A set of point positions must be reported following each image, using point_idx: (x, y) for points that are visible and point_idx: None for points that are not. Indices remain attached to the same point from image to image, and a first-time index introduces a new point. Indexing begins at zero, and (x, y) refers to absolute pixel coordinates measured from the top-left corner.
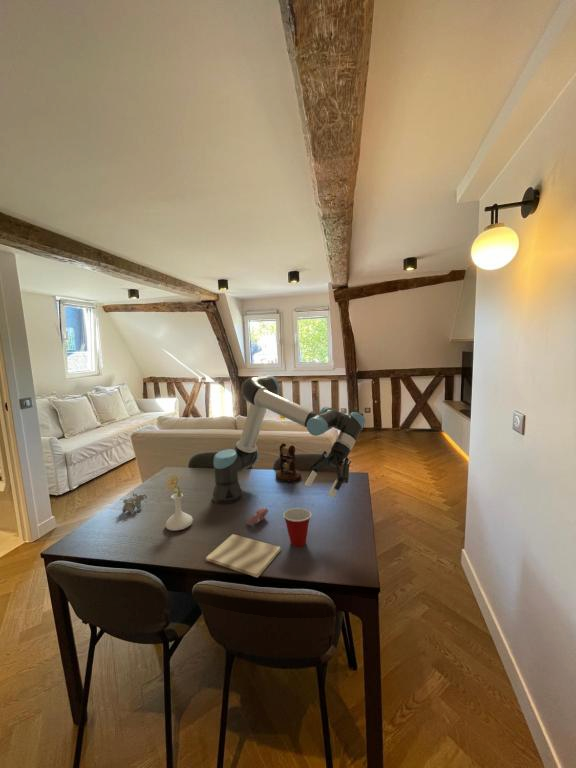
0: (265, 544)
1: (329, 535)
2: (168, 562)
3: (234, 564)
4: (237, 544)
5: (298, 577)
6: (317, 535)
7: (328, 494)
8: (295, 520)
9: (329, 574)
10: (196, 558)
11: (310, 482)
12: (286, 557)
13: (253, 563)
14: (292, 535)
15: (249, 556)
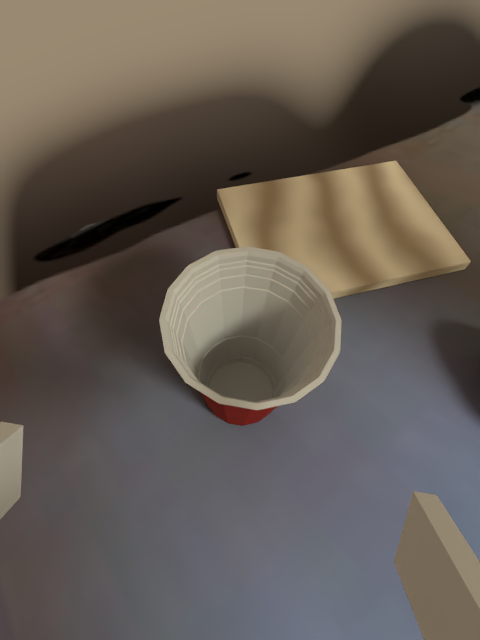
0: None
1: (148, 552)
2: (449, 125)
3: (305, 181)
4: (394, 235)
5: (111, 256)
6: (204, 504)
7: (15, 425)
8: (203, 257)
9: (19, 320)
10: (419, 161)
11: (420, 582)
12: None
13: (265, 209)
14: (235, 322)
15: (304, 220)
